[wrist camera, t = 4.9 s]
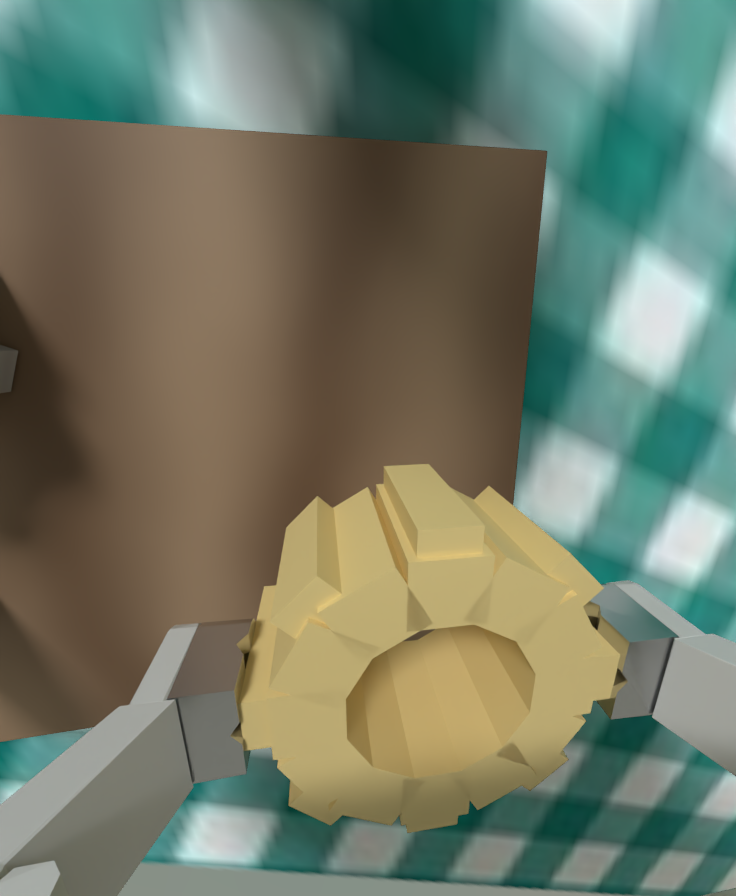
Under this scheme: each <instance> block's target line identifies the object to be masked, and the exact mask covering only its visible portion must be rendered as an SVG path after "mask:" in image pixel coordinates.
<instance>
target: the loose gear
mask: <svg viewBox="0 0 736 896" xmlns="http://www.w3.org/2000/svg"><path fill="white" fill-rule="evenodd" d="M603 589H604V587H603V586H602V585H601V584H600V583H599V582H598V581H597V580H596V579H595V578H594V577H593V576H592V575H591V574H590V573H589V572H588V571H587V570H586V569H585V568H584V567H583V566H582V565H581V564H580V563H579V562H578V561H577V560H576V559H575V558H574V556H573V555H572V554H571V553H569V552H568V551H567V550H566V549H565V548H563V547H562V546H561V545H560V544H559V543H557V542H556V541H555V540H554V539H553V538H551V537H550V536H549V535H548V534H547V533H545V532H544V531H543V530H542V529H541V528H539V527H538V526H537V525H536V524H535V523H533V522H532V521H531V520H530V519H529V518H527V517H526V516H525V515H524V514H523V513H521V512H520V511H519V510H518V509H517V508H515V507H514V506H513V505H512V504H511V503H509V502H508V501H507V500H506V499H505V498H503V497H502V496H501V495H500V494H499V493H497V492H496V491H495V490H494V489H493V488H491V487H490V486H488V487H487V488H486V489H485V490H484V491H483V492H481V493H480V494H479V495H478V496H477V497H476V498H475V499H472V498H470V497H468V496H466V495H464V494H462V493H460V492H458V491H456V490H454V489H452V488H450V487H449V486H448V484H447V483H446V482H445V481H444V480H443V479H442V478H441V477H440V476H439V475H438V474H437V472H436V471H435V470H434V469H433V468H432V467H431V466H430V465H429V464H416V465H396V466H384V484H376V499H375V497H374V496H373V494H372V493H371V491H370V490H369V488H368V487H367V488H365V489H363V490H362V491H360V492H358V493H357V494H355V495H353V496H352V497H350V498H348V499H347V500H345V501H343V502H342V503H340V504H338V505H337V506H335V507H333V508H332V507H331V506H329V505H328V504H327V503H326V502H324V501H323V500H322V499H321V498H320V497H318V496H317V497H316V498H315V499H314V500H313V501H312V502H311V503H310V504H309V505H308V506H307V507H306V508H305V509H304V510H303V511H302V512H301V513H300V514H299V515H298V516H297V517H296V518H295V519H294V520H293V521H292V522H291V523H290V524H289V525H288V526H287V527H286V532H285V538H284V544H283V549H282V555H281V561H280V566H279V572H278V578H277V584H276V585H275V586H264V589H263V593H262V598H261V602H260V607H259V611H258V616H257V620H256V628H255V633H254V638H253V642H252V647H251V651H250V652H249V656H248V660H247V665H246V669H245V670H246V674H245V678H244V682H243V687H242V691H241V695H240V700H239V710H240V716H241V717H240V723H241V730H242V737H243V738H244V745H245V751H248V750H255V749H262V748H269V747H272V755H273V760H278V765H277V768H278V769H279V770H280V771H281V772H282V773H283V774H284V775H285V776H286V777H287V778H289V779H290V791H289V806H290V807H292V808H294V809H297V810H299V811H301V812H303V813H305V814H307V815H309V816H311V817H313V818H316V819H318V820H320V821H322V822H324V823H326V824H328V825H330V826H331V825H332V824H333V823H334V822H335V821H337V820H338V819H339V818H340V817H341V816H342V815H344V816H349V817H354V818H358V819H363V820H368V821H372V822H377V823H382V824H386V825H392V824H393V823H394V821H395V820H396V819H397V817H398V816H400V821H401V826H402V825H406V829H407V833H411V832H417V831H422V830H428V829H433V828H439V827H444V826H450V825H456V824H457V822H458V815H464V814H468V811H469V802H470V801H471V802H472V804H473V805H474V806H475V807H476V809H477V810H479V809H481V808H483V807H485V806H486V805H488V804H490V803H492V802H493V801H495V800H497V799H499V798H501V797H502V796H504V795H506V794H508V793H510V792H511V791H513V790H515V789H517V788H518V787H520V786H523V787H525V788H526V789H528V790H529V791H531V790H532V789H533V788H534V787H536V786H537V785H538V784H539V783H540V782H542V781H543V780H544V779H545V778H547V777H548V776H549V775H550V774H552V773H553V772H554V771H555V770H557V769H558V768H559V767H560V766H561V765H563V764H564V763H565V762H566V761H568V758H567V756H566V755H565V753H564V751H563V748H564V747H565V746H566V745H567V744H568V742H569V741H570V740H571V739H572V738H573V737H574V735H575V734H576V733H577V732H578V731H579V729H580V728H581V727H582V726H583V725H584V723H585V722H586V720H585V719H584V717H583V716H582V715H581V714H588V713H591V708H592V704H593V701H595V700H602V699H609V698H610V696H611V692H612V687H613V685H614V681H615V676H616V672H617V666H618V662H619V658H620V654H619V653H618V652H617V651H616V650H615V649H614V648H613V647H612V646H611V645H610V644H609V643H608V642H607V641H606V640H605V639H604V638H603V637H602V636H601V635H600V634H599V633H598V632H597V630H596V629H595V628H594V627H593V626H592V624H591V622H590V620H589V618H588V616H587V614H586V612H585V610H584V608H583V606H584V605H585V604H587V603H588V602H589V601H590V600H591V599H592V598H593V597H595V596H596V595H597V594H598V593H599V592H600V591H601V590H603ZM430 629H435V630H434V631H432V632H430V633H428V634H427V635H425V636H423V637H422V638H420V639H418V640H412V641H404V640H405V639H407V638H409V637H410V636H412V635H414V634H416V633H417V632H419V631H421V630H430ZM402 641H403V642H402Z"/></svg>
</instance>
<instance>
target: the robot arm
mask: <svg viewBox="0 0 736 896" xmlns="http://www.w3.org/2000/svg"><path fill="white" fill-rule="evenodd" d="M601 585H602V586H603V587H604V589H603V590H601V591H600V592H599V593H598V594H597V595H596V596H595V597H593V598H592V599H591V600H590V601H589V602H588V603H587V604H585V605H584V606H583V608H584V610H585V612H586V614H587V616H588V618H589V620H590V622H591V624H592V626H593V627H594V628H595V629H596V630H597V632H598V633H599V634H600V635H601V636H602V637H603V638H604V639H605V640H606V641H607V642H608V643H609V644H610V645H611V646H612V647H613V648H614V649H615V650H616V651H617V652H618V653H619V654H620V658H619V662H618V666H617V672H616V676H615V681H614V685H613V687H612V692H611V696H610V698H609V699H602V700H596V701H597V702H598V704H599V705H600V706H601V707H602V709H603V710H604V711H605V713H606V714H607V715H608V716H609V718H610V719H619V718H627V717H636V716H645V715H653V716H652V718H654V719H655V720H657V721H658V722H659V723H661V724H662V725H664V726H665V727H666V728H668V729H669V730H671V731H672V732H674V733H675V734H676V735H678V736H679V737H681V738H682V739H684V740H685V741H686V742H688V743H689V744H691V745H692V746H693V747H695V748H696V749H698V750H699V751H701V752H702V753H703V754H705V755H706V756H708V757H709V758H710V759H712V760H713V761H715V762H716V763H718V764H719V765H720V766H722V767H723V768H725V769H726V770H728V771H729V772H730V773H732V774H733V775H735V776H736V643H734V642H732V641H729V640H727V639H724V638H722V637H719V636H717V635H714V634H704V633H703V632H702V631H700V630H699V629H698V628H696V627H695V626H694V625H692V624H691V623H690V622H688V621H687V620H686V619H684V618H683V617H682V616H680V615H679V614H678V613H676V612H675V611H674V610H672V609H671V608H670V607H668V606H667V605H666V604H664V603H663V602H662V601H660V600H659V599H658V598H656V597H655V596H654V595H652V594H651V593H649V592H648V591H647V590H645V589H644V588H643V587H641V586H640V585H639V584H637V583H634V582H632V581H629V580H628V581H619V582H611V583H607V584H601ZM255 628H256V621H255V620H254V619H241V620H228V621H214V622H202V623H194V624H181V625H174V626H173V627H172V628H171V629H170V630H169V631H168V632H167V634H166V636H165V638H164V640H163V642H162V644H161V645H160V647H159V649H158V651H157V653H156V655H155V657H154V659H153V661H152V662H151V664H150V666H149V668H148V670H147V672H146V674H145V676H144V678H143V679H142V681H141V683H140V685H139V687H138V689H137V691H136V693H135V695H134V696H133V698H132V700H131V702H130V704H129V705H125V706H119V707H118V708H117V709H115V710H114V711H113V712H112V713H111V714H109V715H108V716H107V717H106V718H105V719H103V720H102V721H101V722H100V723H99V724H97V725H96V726H95V727H94V728H93V729H91V730H90V731H89V732H88V733H86V734H85V735H84V736H83V737H82V738H80V739H79V740H78V741H77V742H76V743H74V744H73V745H72V746H71V747H70V748H68V749H67V750H66V751H65V752H64V753H62V754H61V755H60V756H59V757H58V758H56V759H55V760H54V761H53V762H52V763H50V764H49V765H48V766H47V767H45V768H44V769H43V770H42V771H41V772H39V773H38V774H37V775H36V776H35V777H33V778H32V779H31V780H30V781H29V782H27V783H26V784H25V785H24V786H23V787H21V788H20V789H19V790H18V791H17V792H15V793H14V794H13V795H12V796H11V797H9V798H8V799H7V800H6V801H4V802H3V803H2V804H1V805H0V896H117V895H118V894H119V892H120V891H121V890H122V888H123V887H124V885H125V884H126V882H127V881H128V879H129V878H130V877H131V875H132V874H133V873H134V871H135V870H136V868H137V867H138V865H139V864H140V863H141V861H142V860H143V858H144V857H145V855H146V854H147V853H148V851H149V850H150V848H151V847H152V845H153V844H154V843H155V841H156V840H157V838H158V837H159V835H160V834H161V833H162V831H163V830H164V828H165V827H166V825H167V824H168V823H169V821H170V820H171V818H172V817H173V815H174V814H175V813H176V811H177V810H178V808H179V807H180V806H181V804H182V803H183V801H184V800H185V798H186V797H187V796H188V794H189V793H190V791H191V790H192V788H193V784H194V783H199V782H205V781H210V780H216V779H221V778H227V777H232V776H238V775H243V774H246V773H247V767H248V761H249V756H250V750H248V751H245V745H244V738H243V737H242V730H241V723H240V717H241V716H240V710H239V700H240V695H241V691H242V687H243V682H244V678H245V674H246V670H245V669H246V665H247V660H248V656H249V652H250V651H251V647H252V642H253V638H254V633H255ZM702 896H736V888H734V889H729V890H725V891H720V892H716V893H711V894H707V895H702Z"/></svg>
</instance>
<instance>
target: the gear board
mask: <svg viewBox="0 0 736 896" xmlns="http://www.w3.org/2000/svg"><path fill="white" fill-rule="evenodd" d="M546 159H547V151H541V150H526V149H511V148H496V147H481V146H466V145H451V144H436V143H421V142H406V141H391V140H376V139H361V138H346V137H331V136H316V135H301V134H286V133H271V132H256V131H240V130H225V129H210V128H195V127H180V126H165V125H150V124H135V123H120V122H105V121H90V120H75V119H60V118H45V117H30V116H15V115H0V742H2V741H9V740H15V739H21V738H28V737H34V736H40V735H47V734H53V733H59V732H66V731H72V730H78V729H85V728H91V727H95V726H96V725H97V724H99V723H100V722H101V721H102V720H103V719H105V718H106V717H107V716H108V715H109V714H111V713H112V712H113V711H114V710H115V709H117V708H118V707H119V706H125V705H129V704H130V702H131V700H132V698H133V696H134V695H135V693H136V691H137V689H138V687H139V685H140V683H141V681H142V679H143V678H144V676H145V674H146V672H147V670H148V668H149V666H150V664H151V662H152V661H153V659H154V657H155V655H156V653H157V651H158V649H159V647H160V645H161V644H162V642H163V640H164V638H165V636H166V634H167V632H168V631H169V630H170V629H171V628H172V627H173V626H174V625H181V624H194V623H202V622H214V621H228V620H241V619H254V620H255V621H256V620H257V616H258V611H259V607H260V602H261V598H262V593H263V589H264V586H275V585H276V584H277V578H278V572H279V566H280V561H281V555H282V549H283V544H284V538H285V532H286V527H287V526H288V525H289V524H290V523H291V522H292V521H293V520H294V519H295V518H296V517H297V516H298V515H299V514H300V513H301V512H302V511H303V510H304V509H305V508H306V507H307V506H308V505H309V504H310V503H311V502H312V501H313V500H314V499H315V498H316V497H317V496H318V497H320V498H321V499H322V500H323V501H324V502H326V503H327V504H328V505H329V506H331V507H332V508H333V507H335V506H337V505H338V504H340V503H342V502H343V501H345V500H347V499H348V498H350V497H352V496H353V495H355V494H357V493H358V492H360V491H362V490H363V489H365V488H367V487H368V488H369V490H370V491H371V493H372V494H373V496H374V497H375V499H376V484H384V466H396V465H416V464H429V465H430V466H431V467H432V468H433V469H434V470H435V471H436V472H437V474H438V475H439V476H440V477H441V478H442V479H443V480H444V481H445V482H446V483H447V484H448V486H449V487H450V488H452V489H454V490H456V491H458V492H460V493H462V494H464V495H466V496H468V497H470V498H472V499H475V498H476V497H477V496H478V495H479V494H480V493H481V492H483V491H484V490H485V489H486V488H487V487H488V486H490V487H491V488H493V489H494V490H495V491H496V492H497V493H499V494H500V495H501V496H502V497H503V498H505V499H506V500H507V501H508V502H509V503H511V504H512V505H513V500H514V490H515V479H516V469H517V459H518V448H519V438H520V428H521V417H522V407H523V397H524V386H525V376H526V366H527V355H528V345H529V335H530V324H531V314H532V304H533V293H534V283H535V273H536V262H537V252H538V242H539V231H540V221H541V211H542V200H543V190H544V180H545V169H546ZM434 630H435V629H430V630H421V631H419V632H417V633H416V634H414V635H412V636H410V637H409V638H407V639H405V640H404V641H412V640H418V639H420V638H422V637H423V636H425V635H427V634H428V633H430V632H432V631H434ZM402 642H403V641H402Z"/></svg>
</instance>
